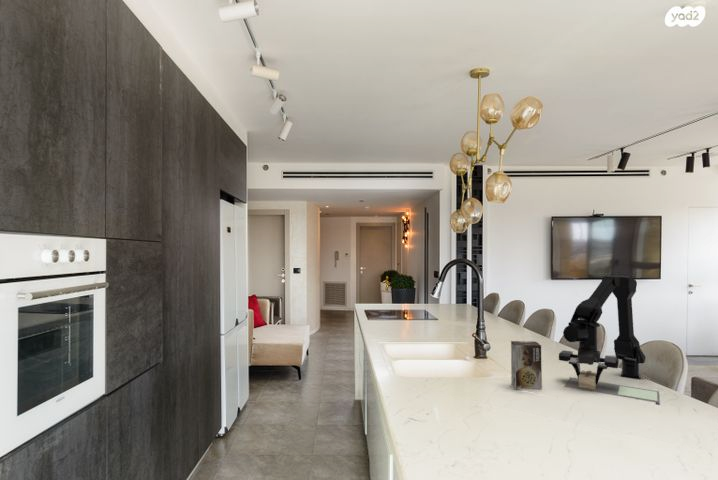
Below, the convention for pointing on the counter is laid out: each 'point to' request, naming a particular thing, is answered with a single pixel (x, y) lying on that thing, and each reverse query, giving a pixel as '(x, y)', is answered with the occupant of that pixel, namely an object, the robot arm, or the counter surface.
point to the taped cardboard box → (587, 379)
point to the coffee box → (526, 365)
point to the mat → (618, 390)
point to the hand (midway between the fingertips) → (588, 382)
